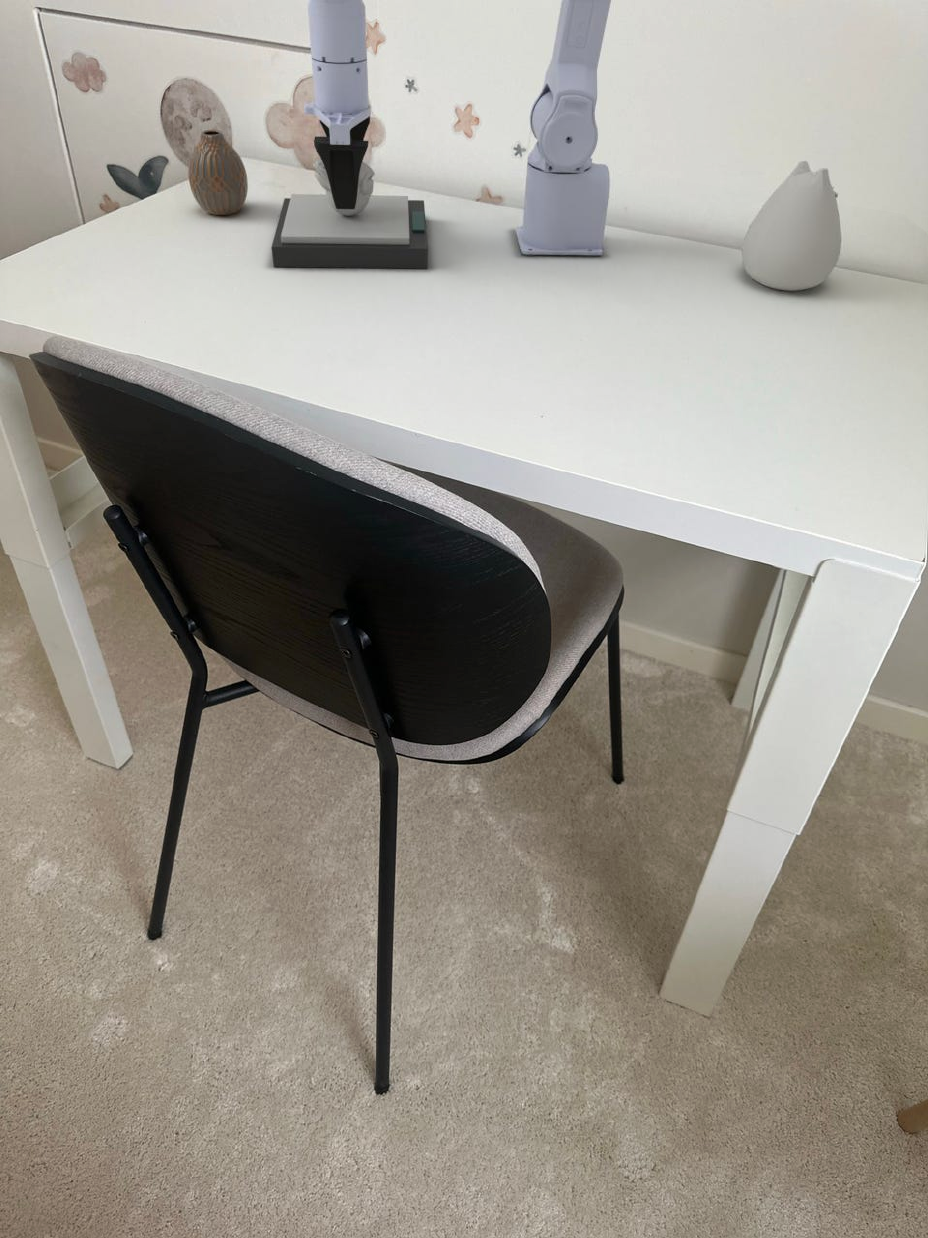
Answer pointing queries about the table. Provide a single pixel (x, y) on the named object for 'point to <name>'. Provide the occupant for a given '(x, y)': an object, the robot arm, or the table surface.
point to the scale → (351, 234)
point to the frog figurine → (362, 194)
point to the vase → (217, 175)
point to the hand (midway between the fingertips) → (346, 196)
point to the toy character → (795, 233)
